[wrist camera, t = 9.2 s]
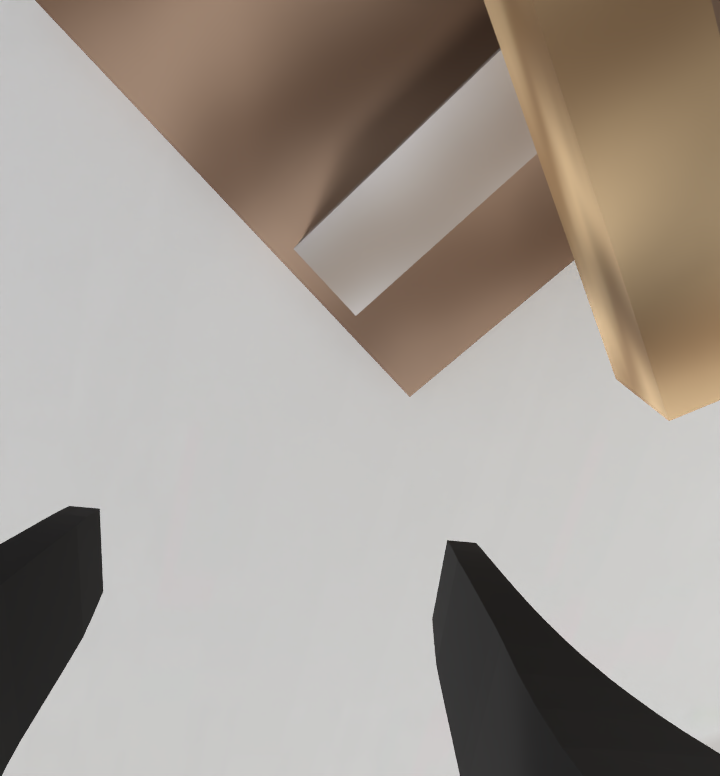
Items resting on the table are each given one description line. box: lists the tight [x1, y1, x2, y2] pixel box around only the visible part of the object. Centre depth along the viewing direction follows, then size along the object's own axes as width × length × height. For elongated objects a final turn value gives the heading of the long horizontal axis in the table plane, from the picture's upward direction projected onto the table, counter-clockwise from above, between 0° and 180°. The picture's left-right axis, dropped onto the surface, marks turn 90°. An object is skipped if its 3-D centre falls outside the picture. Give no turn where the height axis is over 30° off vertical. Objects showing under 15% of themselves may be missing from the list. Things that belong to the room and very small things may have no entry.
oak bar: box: [484, 0, 720, 421], centre depth 13 cm, size 16×3×3 cm, turn 26°
